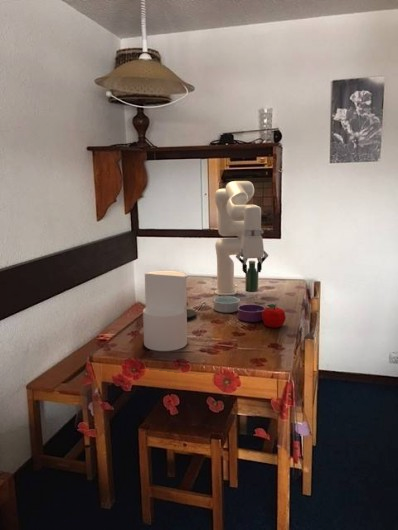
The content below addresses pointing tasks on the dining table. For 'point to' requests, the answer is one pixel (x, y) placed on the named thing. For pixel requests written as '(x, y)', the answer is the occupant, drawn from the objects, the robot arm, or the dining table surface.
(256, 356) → the dining table surface
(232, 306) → the pale bowl
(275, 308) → the apple
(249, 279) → the bottle
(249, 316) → the plum bowl
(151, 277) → the cylinder
